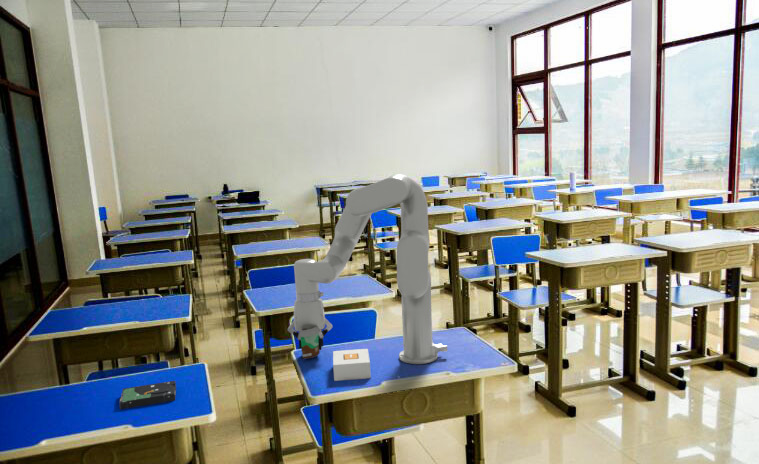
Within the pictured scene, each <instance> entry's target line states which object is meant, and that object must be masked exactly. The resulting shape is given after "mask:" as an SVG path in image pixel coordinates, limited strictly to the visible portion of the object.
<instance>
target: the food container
mask: <svg viewBox="0 0 759 464" xmlns="http://www.w3.org/2000/svg"><path fill="white" fill-rule="evenodd" d="M320 331H321V330H319V328H318V326H317V327H315V328H312V329H302V330H300V337H301V346H302V350H301V355H302V360H307V359H312V358H315V357H317V356H319V354H320V351H321V350H319V332H320Z"/></svg>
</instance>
